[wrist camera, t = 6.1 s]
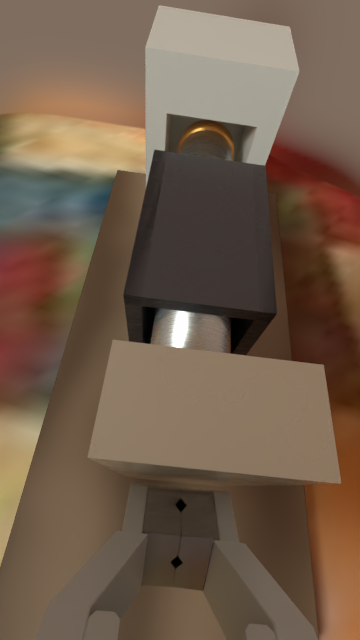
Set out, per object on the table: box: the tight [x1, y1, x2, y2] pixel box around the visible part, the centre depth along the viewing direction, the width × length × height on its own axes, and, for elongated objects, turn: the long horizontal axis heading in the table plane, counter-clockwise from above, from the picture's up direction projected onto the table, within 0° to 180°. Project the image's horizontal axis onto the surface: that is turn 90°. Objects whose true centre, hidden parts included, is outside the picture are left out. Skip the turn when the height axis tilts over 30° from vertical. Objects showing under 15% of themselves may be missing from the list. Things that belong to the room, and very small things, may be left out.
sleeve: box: [123, 150, 277, 355], centre depth 15 cm, size 5×8×8 cm, turn 175°
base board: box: [0, 170, 319, 640], centre depth 19 cm, size 13×28×1 cm, turn 175°
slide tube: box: [87, 120, 341, 486], centre depth 13 cm, size 4×18×10 cm, turn 175°
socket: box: [145, 5, 299, 186], centre depth 19 cm, size 7×5×10 cm
